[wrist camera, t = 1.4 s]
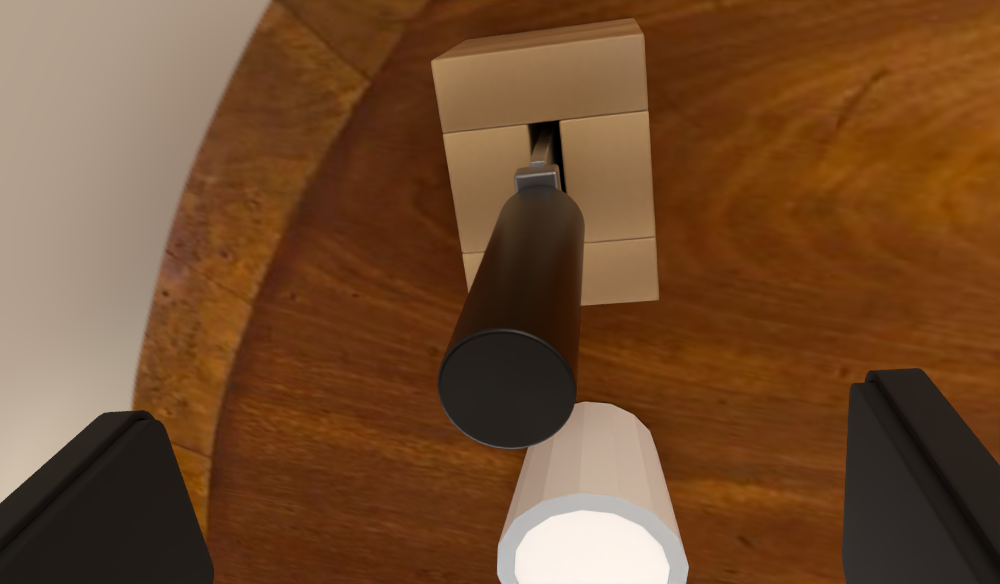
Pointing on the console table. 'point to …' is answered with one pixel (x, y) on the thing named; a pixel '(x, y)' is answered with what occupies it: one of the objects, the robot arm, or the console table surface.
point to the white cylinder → (592, 507)
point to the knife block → (584, 141)
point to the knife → (521, 314)
